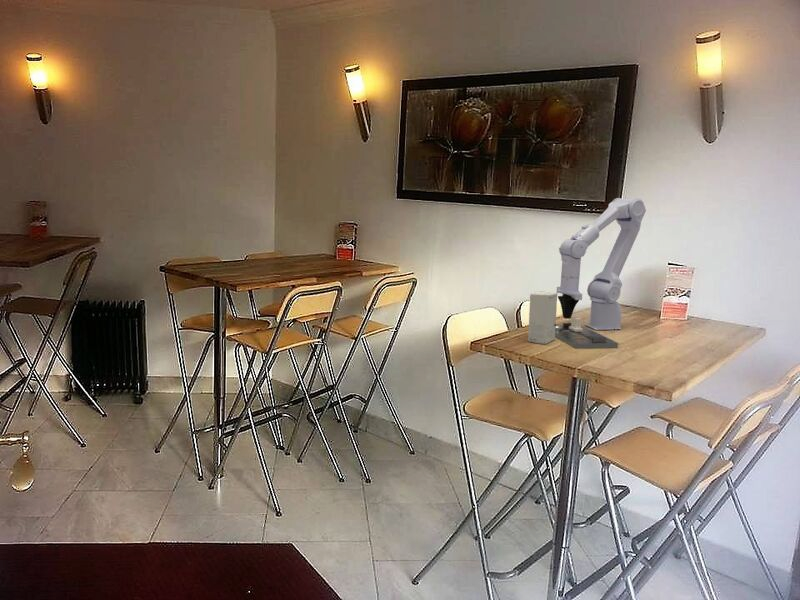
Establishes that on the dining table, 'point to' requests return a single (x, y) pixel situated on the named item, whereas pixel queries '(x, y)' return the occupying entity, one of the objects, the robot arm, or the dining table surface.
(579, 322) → the block
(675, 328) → the dining table surface
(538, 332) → the skincare box
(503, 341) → the dining table surface
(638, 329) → the dining table surface
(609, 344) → the console
